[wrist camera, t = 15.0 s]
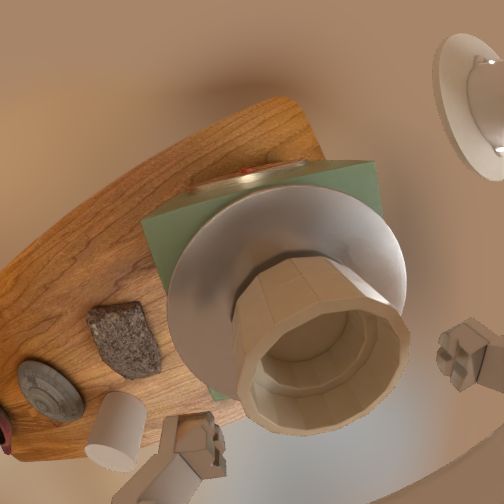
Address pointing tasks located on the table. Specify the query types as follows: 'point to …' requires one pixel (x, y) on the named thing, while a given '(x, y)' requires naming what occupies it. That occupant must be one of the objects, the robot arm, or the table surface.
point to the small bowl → (314, 347)
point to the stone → (125, 340)
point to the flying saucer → (49, 392)
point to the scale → (263, 247)
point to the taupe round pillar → (117, 432)
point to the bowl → (5, 432)
